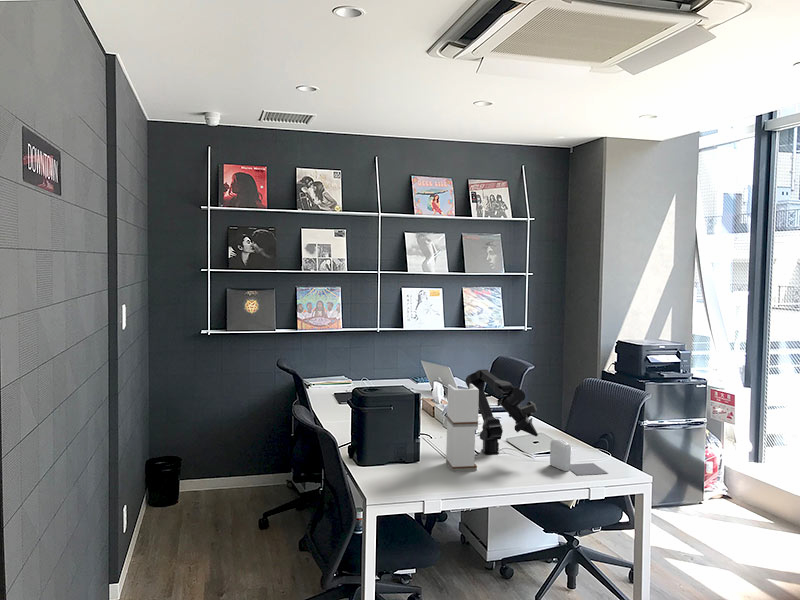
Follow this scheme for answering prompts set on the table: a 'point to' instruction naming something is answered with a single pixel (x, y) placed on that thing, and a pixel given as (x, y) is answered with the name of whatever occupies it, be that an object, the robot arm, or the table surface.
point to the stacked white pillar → (461, 428)
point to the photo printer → (560, 454)
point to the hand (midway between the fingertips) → (537, 435)
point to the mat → (586, 469)
